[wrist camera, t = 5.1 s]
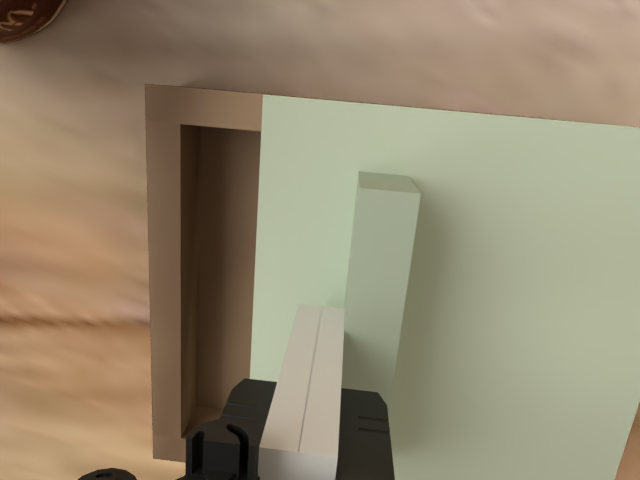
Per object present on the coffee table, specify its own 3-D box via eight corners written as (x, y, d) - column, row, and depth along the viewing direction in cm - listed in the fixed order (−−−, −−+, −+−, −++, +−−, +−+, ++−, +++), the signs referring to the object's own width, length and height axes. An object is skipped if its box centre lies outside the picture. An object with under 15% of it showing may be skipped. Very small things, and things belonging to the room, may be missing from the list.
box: (179, 411, 23) (153, 458, 20) (179, 86, 19) (144, 83, 16) (467, 444, 23) (485, 498, 20) (535, 118, 18) (572, 121, 15)
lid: (249, 471, 20) (225, 555, 16) (267, 94, 15) (240, 93, 12) (588, 513, 19) (642, 609, 16) (707, 133, 15) (821, 144, 11)
